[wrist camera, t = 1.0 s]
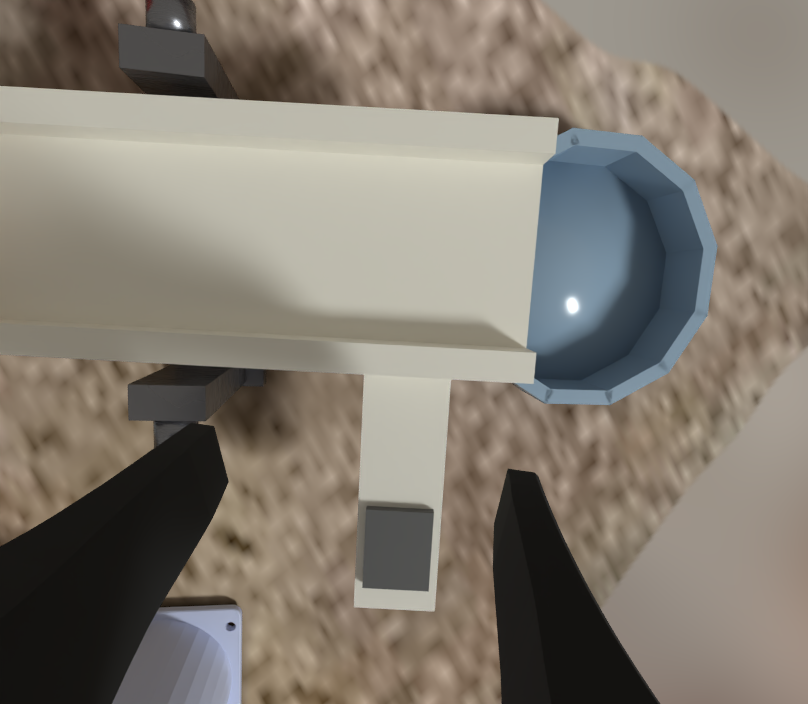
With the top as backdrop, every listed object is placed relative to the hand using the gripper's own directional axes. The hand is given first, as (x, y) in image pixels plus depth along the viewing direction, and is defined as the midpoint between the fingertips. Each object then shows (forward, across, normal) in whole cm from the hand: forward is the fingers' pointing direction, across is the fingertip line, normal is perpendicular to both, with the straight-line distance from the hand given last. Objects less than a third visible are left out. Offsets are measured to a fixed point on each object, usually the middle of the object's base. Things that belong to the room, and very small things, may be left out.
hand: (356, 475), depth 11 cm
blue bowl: (+16, -7, +1) cm, 17 cm away
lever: (+5, +7, +1) cm, 9 cm away
